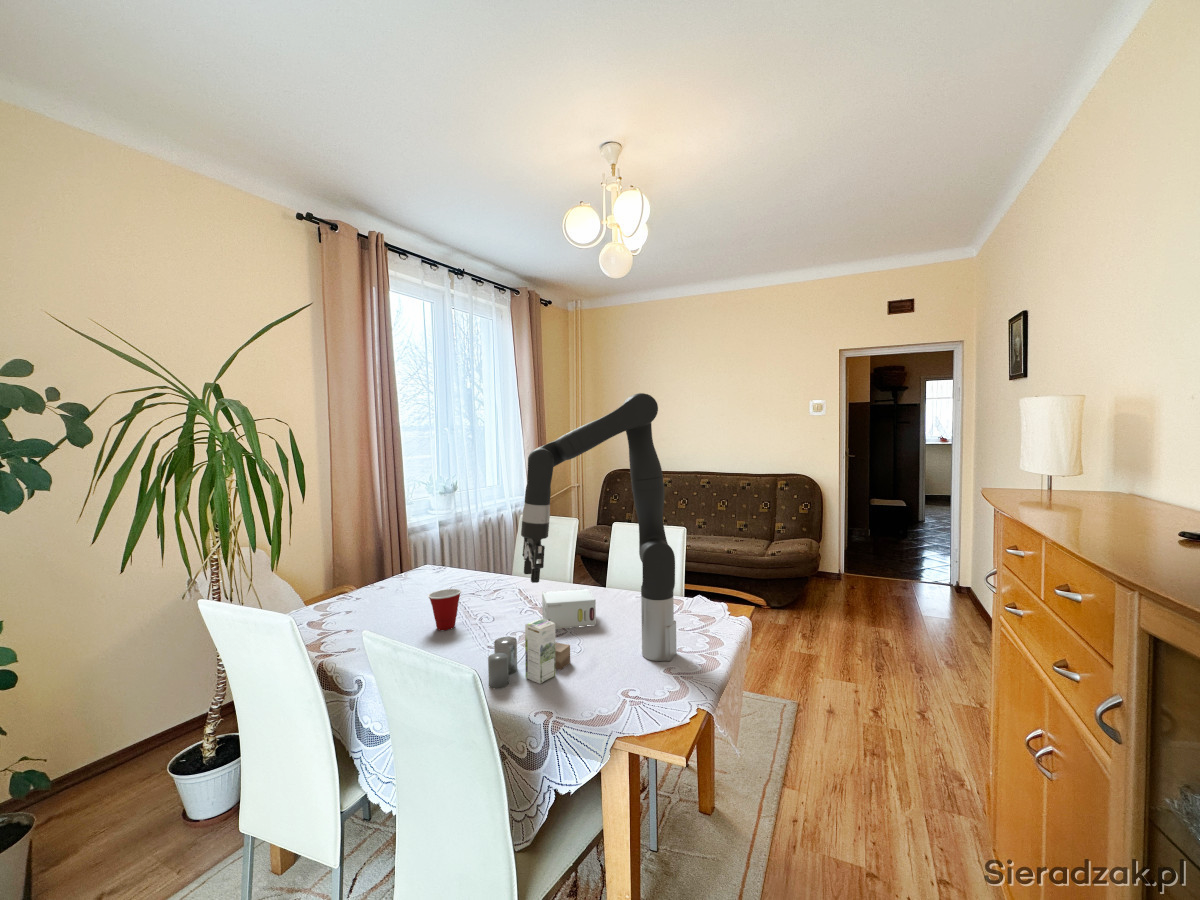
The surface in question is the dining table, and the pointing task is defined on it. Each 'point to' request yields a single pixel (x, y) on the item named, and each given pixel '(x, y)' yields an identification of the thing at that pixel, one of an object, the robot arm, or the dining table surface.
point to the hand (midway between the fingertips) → (531, 578)
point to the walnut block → (561, 655)
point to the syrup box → (540, 650)
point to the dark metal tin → (508, 651)
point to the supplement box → (569, 608)
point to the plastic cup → (445, 607)
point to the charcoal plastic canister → (498, 670)
